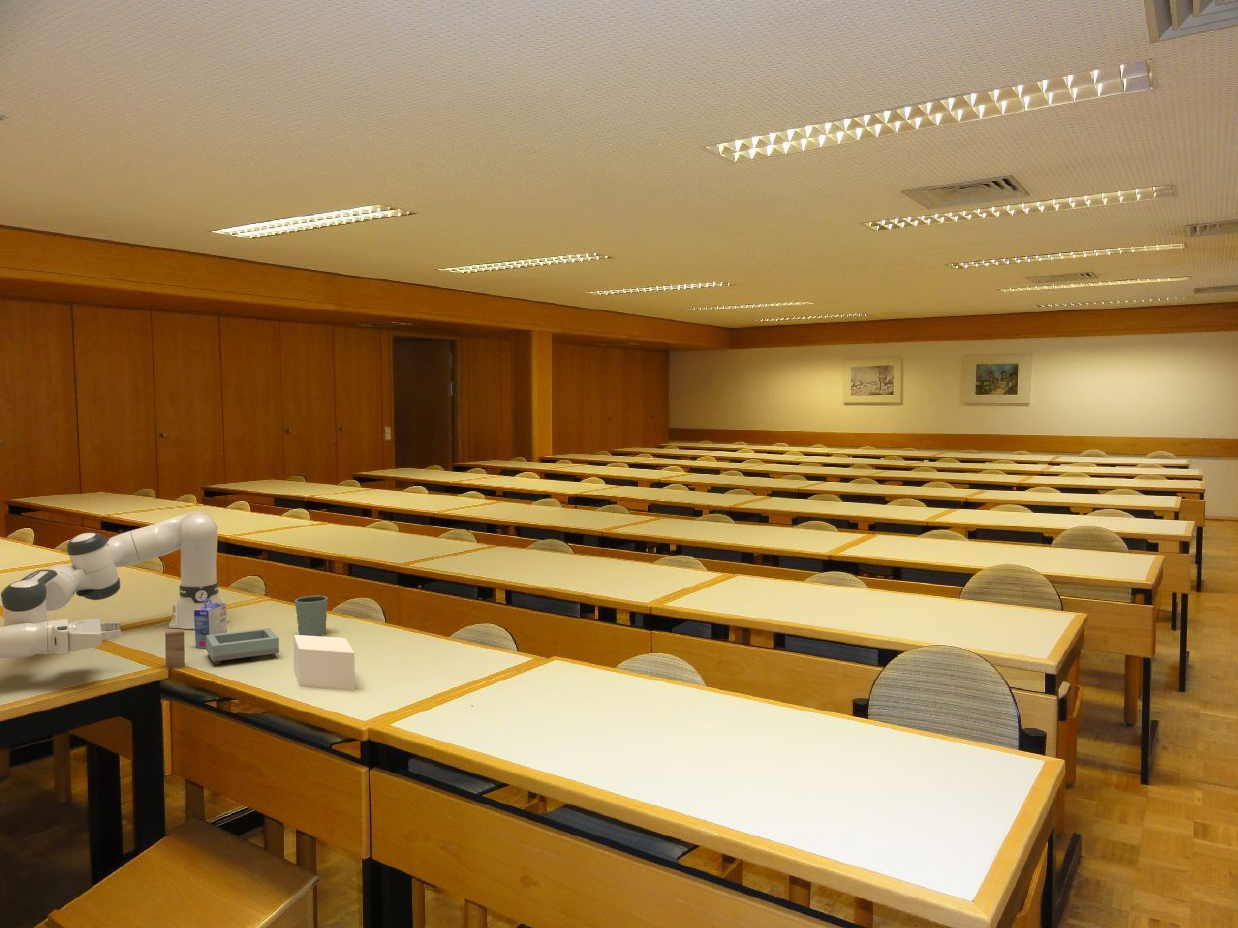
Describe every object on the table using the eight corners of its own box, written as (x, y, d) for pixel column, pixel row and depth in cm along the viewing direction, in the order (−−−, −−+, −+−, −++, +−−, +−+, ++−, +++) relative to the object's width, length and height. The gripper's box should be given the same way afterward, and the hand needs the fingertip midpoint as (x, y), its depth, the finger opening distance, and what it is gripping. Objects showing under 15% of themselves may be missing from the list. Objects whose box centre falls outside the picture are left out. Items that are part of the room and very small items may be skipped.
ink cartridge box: (212, 639, 271) (211, 595, 270) (228, 640, 270) (227, 596, 270) (193, 648, 261) (192, 602, 260) (210, 648, 261) (209, 602, 260)
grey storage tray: (206, 655, 253) (206, 635, 253) (269, 646, 263) (269, 627, 263) (212, 667, 242) (212, 646, 241) (278, 658, 251) (278, 637, 251)
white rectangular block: (330, 697, 218) (330, 658, 217) (270, 675, 235) (270, 639, 235) (377, 684, 229) (377, 647, 229) (316, 664, 247) (316, 629, 246)
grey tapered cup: (334, 632, 282) (334, 597, 281) (310, 639, 273) (310, 603, 272) (312, 628, 287) (312, 594, 286) (288, 635, 278) (288, 599, 277)
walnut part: (165, 665, 243) (165, 631, 243) (183, 662, 246) (182, 629, 245) (167, 669, 239) (166, 634, 239) (184, 666, 242) (184, 632, 241)
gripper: (62, 638, 236) (119, 632, 243) (60, 656, 218) (122, 648, 226) (61, 616, 235) (118, 610, 243) (59, 632, 218) (121, 625, 226)
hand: (120, 629), depth 234 cm, fingers open, 8 cm apart
